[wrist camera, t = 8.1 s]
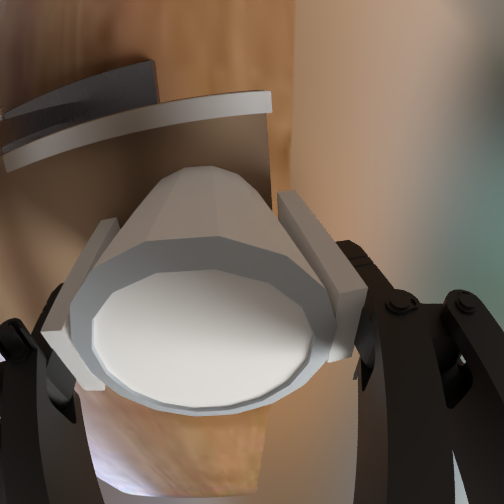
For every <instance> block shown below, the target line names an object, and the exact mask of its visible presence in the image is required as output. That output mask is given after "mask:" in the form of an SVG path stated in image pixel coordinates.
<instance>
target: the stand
mask: <svg viewBox="0 0 504 504" xmlns="http://www.w3.org/2000/svg"><path fill="white" fill-rule="evenodd" d="M158 103H160V99H159V91H158V83H157V75H156V67H155V61H153V60H150V61H145V62H141V63H137V64H133V65H129V66H125V67H121V68H118V69H114V70H111V71H107V72H104V73H101V74H97V75H94V76H91V77H88V78H85V79H82V80H80V81H77V82H74V83H71V84H69V85H66V86H63V87H61V88H58V89H56V90H53V91H51V92H49V93H46V94H44V95H42V96H39V97H37V98H35V99H33V100H31V101H29V102H26V103H24V104H22V105H20V106H18V107H16V108H14V109H12V110H10V111H9V112H7V113H5V114H4V110H3V106H0V148H2V151H3V154H4V153H7V152H9V151H11V150H13V149H15V148H18V147H20V146H22V145H24V144H27V143H29V142H32V141H34V140H36V139H39V138H41V137H44V136H47V135H49V134H52V133H55V132H57V131H60V130H63V129H66V128H69V127H72V126H75V125H78V124H81V123H84V122H87V121H90V120H94V119H97V118H100V117H104V116H107V115H111V114H115V113H119V112H122V111H126V110H131V109H135V108H139V107H143V106H148V105H153V104H158Z"/></svg>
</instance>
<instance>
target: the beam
mask: <svg viewBox="0 0 504 504" xmlns="http://www.w3.org/2000/svg"><path fill="white" fill-rule="evenodd" d="M266 113H272V102H271V91H266V90H252V91H240V92H229V93H220V94H212V95H205V96H198V97H191V98H185V99H179V100H173V101H168V102H163V103H158V104H153V105H148V106H143V107H139V108H135V109H131V110H126V111H122V112H119V113H115V114H111V115H107V116H104V117H100V118H97V119H94V120H90V121H87V122H84V123H81V124H78V125H75V126H72V127H69V128H66V129H63V130H60V131H57V132H55V133H52V134H49V135H47V136H44V137H41V138H39V139H36V140H34V141H32V142H29V143H27V144H24V145H22V146H20V147H18V148H15V149H13V150H11V151H9V152H7V153H4V154H2V155H0V325H1V324H2V323H3V322H5V321H6V320H8V319H12V318H18V319H20V320H21V321H22V322H23V324H24V325H25V327H26V328H27V330H28V331H29V333H32V331H33V329H34V327H35V324H36V322H37V320H38V318H39V316H40V314H41V313H42V310H43V308H44V306H45V305H47V303H46V302H47V300H48V298H49V297H50V295H51V293H52V292H53V291H54V290H55V289H56V288H57V286H58V285H59V284H60V283H64V282H65V280H66V278H67V277H68V275H69V273H70V271H71V269H72V268H73V266H74V264H75V262H76V261H77V259H78V257H79V255H80V254H81V252H82V250H83V249H84V247H85V245H86V244H87V242H88V240H89V239H90V237H91V236H92V234H93V232H94V231H95V229H96V228H97V226H98V225H99V223H100V222H101V220H105V219H110V218H115V217H117V220H118V223H119V227H120V230H121V228H122V227H123V226H124V224H125V223H126V222H127V220H128V219H129V218H130V217H131V215H132V214H133V213H134V211H135V210H136V209H137V208H138V206H139V205H140V204H141V203H142V202H143V200H144V199H145V198H146V197H147V195H148V194H149V193H150V192H151V191H152V189H153V188H154V187H155V186H156V185H157V184H158V182H159V181H160V180H161V179H163V178H165V177H167V176H169V175H171V174H173V173H175V172H177V171H179V170H181V169H183V168H185V167H197V166H215V167H219V168H222V169H225V170H228V171H230V172H233V173H236V174H239V175H240V176H241V177H242V178H243V179H244V180H245V181H246V182H248V183H249V184H250V185H251V186H252V187H253V188H254V189H255V190H256V191H257V192H258V193H259V194H260V196H261V197H262V198H263V200H264V201H265V203H266V204H267V205H268V207H269V208H270V209H271V211H272V198H271V180H270V164H269V148H268V133H267V118H266Z"/></svg>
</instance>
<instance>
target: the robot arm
mask: <svg viewBox="0 0 504 504" xmlns="http://www.w3.org/2000/svg"><path fill="white" fill-rule="evenodd" d="M277 200H278V221H279V222H280V223H281V225H282V226H283V228H284V229H285V230H286V232H287V233H288V235H289V236H290V238H291V239H292V240H293V242H294V243H295V245H296V246H297V247H298V249H299V250H300V252H301V253H302V255H303V256H304V258H305V259H306V260H307V262H308V263H309V265H310V266H311V268H312V269H313V271H314V272H315V274H316V275H317V277H318V278H319V279H320V281H321V282H322V284H323V285H324V287H325V288H326V290H327V293H328V296H329V300H330V303H331V306H332V309H333V313H334V316H335V319H336V323H337V330H336V333H335V337H334V340H333V343H332V347H331V350H330V353H329V356H328V359H327V361H328V363H329V362H333V361H337V360H341V359H345V358H349V357H351V356H352V352H353V349H354V345H355V346H356V348H357V350H358V352H359V354H360V358H359V361H358V364H357V367H356V370H355V373H354V377H353V379H354V380H356V379H357V377H358V446H357V465H356V466H357V467H356V480H355V492H354V502H353V504H455V481H454V464H453V453H454V455H455V459H456V462H457V465H458V468H459V471H460V474H461V478H462V481H463V484H464V488H465V491H466V495H467V498H468V502H469V504H504V332H503V330H502V329H501V327H500V326H499V325H498V323H497V322H496V321H495V319H494V318H493V316H492V315H491V314H490V312H489V311H488V309H487V308H486V307H485V305H484V304H483V303H482V302H481V300H480V299H479V298H478V297H477V296H476V295H474V294H472V293H470V292H469V291H465V290H453V291H451V292H449V293H448V295H447V296H446V298H445V300H444V303H443V304H422V303H420V302H419V300H418V299H417V298H416V297H415V296H413V295H412V294H411V293H409V292H406V291H404V290H399V289H394V288H393V286H392V285H391V284H390V283H389V281H388V280H387V279H386V278H385V276H384V275H383V274H382V272H381V271H380V270H379V269H378V268H377V266H376V265H375V264H373V261H372V260H371V259H370V258H369V257H368V255H367V254H366V253H365V252H364V250H363V249H362V248H361V247H360V246H359V245H357V244H355V243H353V242H351V241H350V240H345V241H338V242H335V241H334V240H333V239H332V237H331V236H330V235H329V233H328V232H327V231H326V229H325V228H324V227H323V225H322V224H321V223H320V221H319V220H318V219H317V218H316V216H315V215H314V214H313V212H312V211H311V210H310V209H309V207H308V206H307V205H306V204H305V202H304V201H303V200H302V199H301V197H300V196H299V195H298V194H297V193H296V191H295V190H291V191H282V192H277ZM119 231H120V227H119V223H118V220H117V217H115V218H110V219H105V220H101V222H100V223H99V225H98V226H97V228H96V229H95V231H94V232H93V234H92V236H91V237H90V239H89V240H88V242H87V244H86V245H85V247H84V249H83V250H82V252H81V254H80V255H79V257H78V259H77V261H76V262H75V264H74V266H73V268H72V269H71V271H70V273H69V275H68V277H67V278H66V280H65V282H64V283H60V284H59V285H58V286H57V288H56V289H55V290H54V291H53V292H52V293H51V295H50V297H49V298H48V300H47V302H46V303H47V305H45V306H44V308H43V310H42V313H41V314H40V316H39V318H38V320H37V322H36V324H35V327H34V329H33V331H32V333H31V334H30V333H29V331H28V330H27V328H26V327H25V325H24V324H23V322H22V321H21V320H20V319H18V318H12V319H8V320H6V321H5V322H3V323H2V324H1V325H0V353H1V355H2V356H3V357H4V358H5V360H6V361H3V362H0V417H1V419H0V504H104V501H103V497H102V495H101V491H100V488H99V485H98V481H97V478H96V474H95V470H94V467H93V463H92V459H91V455H90V450H89V446H88V441H87V437H86V432H85V426H84V421H83V415H82V409H81V402H80V398H79V395H78V394H77V393H76V392H75V390H74V386H75V382H76V380H77V382H78V383H79V384H80V385H81V386H82V388H83V389H84V390H105V383H103V382H102V381H101V380H100V379H98V378H97V377H96V376H95V375H93V374H92V373H91V372H90V370H89V369H88V368H87V366H86V364H85V363H84V361H83V360H82V358H81V356H80V355H79V353H78V351H77V350H76V348H75V346H74V345H73V343H72V340H71V325H70V304H71V302H72V300H73V299H74V297H75V295H76V294H77V292H78V291H79V289H80V287H81V286H82V284H83V282H84V281H85V279H86V278H87V276H88V275H89V273H90V271H91V270H92V268H93V267H94V265H95V264H96V263H97V261H98V260H99V258H100V257H101V255H102V254H103V253H104V251H105V250H106V248H107V247H108V246H109V244H110V243H111V242H112V240H113V239H114V238H115V236H116V235H117V234H118V232H119ZM461 355H463V357H464V359H465V360H466V363H463V362H462V361H461V359H460V357H461ZM452 450H453V452H452Z"/></svg>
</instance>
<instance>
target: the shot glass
mask: <svg viewBox="0 0 504 504" xmlns="http://www.w3.org/2000/svg"><path fill="white" fill-rule="evenodd" d="M70 325H71V340H72V343H73V345H74V346H75V348H76V350H77V351H78V353H79V355H80V356H81V358H82V360H83V361H84V363H85V364H86V366H87V368H88V369H89V370H90V372H91V373H92V374H93V375H95V376H96V377H97V378H98V379H100V380H101V381H102V382H103V383H105V384H106V385H107V386H108V387H110V388H111V389H112V390H114V391H115V392H116V393H118V394H119V395H121V396H123V397H125V398H128V399H130V400H132V401H135V402H137V403H139V404H142V405H144V406H147V407H150V408H152V409H155V410H159V411H164V412H170V413H176V414H183V415H190V416H212V415H227V414H236V413H240V412H244V411H248V410H251V409H255V408H258V407H262V406H265V405H268V404H272V403H274V402H275V401H277V400H279V399H281V398H282V397H284V396H286V395H288V394H290V393H291V392H293V391H295V390H296V389H298V388H300V387H301V386H303V385H304V384H305V383H306V382H307V381H308V380H309V379H310V378H311V377H312V376H313V375H314V374H315V373H316V371H317V370H318V369H319V368H320V367H321V366H322V365H323V364H324V362H325V361H326V360H327V359H328V356H329V353H330V350H331V347H332V343H333V340H334V337H335V333H336V330H337V323H336V319H335V316H334V313H333V309H332V306H331V303H330V300H329V296H328V293H327V290H326V288H325V287H324V285H323V284H322V282H321V281H320V279H319V278H318V277H317V275H316V274H315V272H314V271H313V269H312V268H311V266H310V265H309V263H308V262H307V260H306V259H305V258H304V256H303V255H302V253H301V252H300V250H299V249H298V247H297V246H296V245H295V243H294V242H293V240H292V239H291V238H290V236H289V235H288V233H287V232H286V230H285V229H284V228H283V226H282V225H281V223H280V222H279V221H278V219H277V218H276V216H275V215H274V214H273V212H272V211H271V209H270V208H269V207H268V205H267V204H266V203H265V201H264V200H263V198H262V197H261V196H260V194H259V193H258V192H257V191H256V190H255V189H254V188H253V187H252V186H251V185H250V184H249V183H248V182H246V181H245V180H244V179H243V178H242V177H241V176H240V175H239V174H236V173H233V172H230V171H228V170H225V169H222V168H219V167H215V166H197V167H185V168H183V169H181V170H179V171H177V172H175V173H173V174H171V175H169V176H167V177H165V178H163V179H161V180H160V181H159V182H158V184H157V185H156V186H155V187H154V188H153V189H152V191H151V192H150V193H149V194H148V195H147V197H146V198H145V199H144V200H143V202H142V203H141V204H140V205H139V206H138V208H137V209H136V210H135V211H134V213H133V214H132V215H131V217H130V218H129V219H128V220H127V222H126V223H125V224H124V226H123V227H122V228H121V230H120V231H119V232H118V234H117V235H116V236H115V238H114V239H113V240H112V242H111V243H110V244H109V246H108V247H107V248H106V250H105V251H104V253H103V254H102V255H101V257H100V258H99V260H98V261H97V263H96V264H95V265H94V267H93V268H92V270H91V271H90V273H89V275H88V276H87V278H86V279H85V281H84V282H83V284H82V286H81V287H80V289H79V291H78V292H77V294H76V295H75V297H74V299H73V300H72V302H71V304H70Z"/></svg>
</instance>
